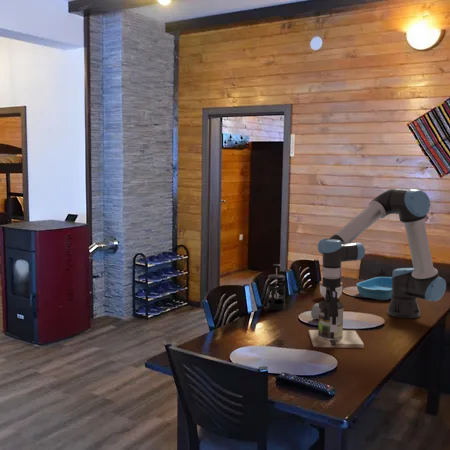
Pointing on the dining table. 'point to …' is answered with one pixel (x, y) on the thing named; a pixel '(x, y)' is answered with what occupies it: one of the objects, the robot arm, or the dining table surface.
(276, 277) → the french press
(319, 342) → the plywood board
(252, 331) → the dining table surface
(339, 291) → the lidded bowl
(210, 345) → the dining table surface
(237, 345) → the dining table surface
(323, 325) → the coffee can
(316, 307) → the ceramic mug
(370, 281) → the casserole dish
